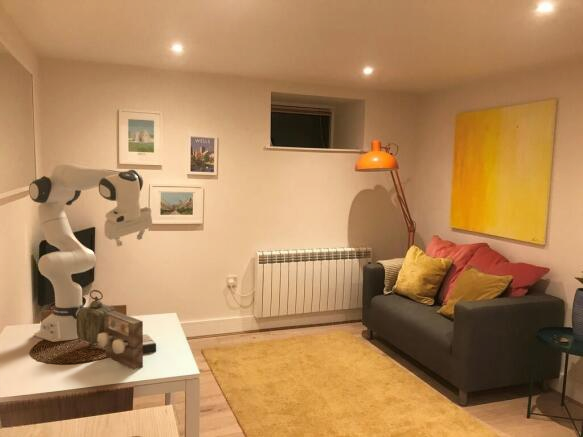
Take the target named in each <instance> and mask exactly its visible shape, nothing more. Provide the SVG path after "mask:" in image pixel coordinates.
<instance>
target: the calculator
mask: <svg viewBox="0 0 583 437" xmlns="http://www.w3.org/2000/svg"><path fill="white" fill-rule="evenodd" d="M156 352H157V343H156V342H155V341H154V340H153V338H152V337H151V336H150V335H149V334H148V333H146V334H144V333H143V355H145V354H150V353H156Z"/></svg>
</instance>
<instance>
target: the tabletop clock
mask: <svg viewBox="0 0 583 437" xmlns="http://www.w3.org/2000/svg"><path fill="white" fill-rule="evenodd" d="M93 292H96V293H99V294H100V295H101V296H100V298H99V297H98V296H94V297H93V296H92V293H93ZM89 296H90V298H91V299H93V301H91V302H90V304H89V305H88V306H85V307H84V308H81V309H80V310H79V311H78V313H77V323H76V325H77V335H78V338H77V339H79V340H81V341H85V342H88V343H89V344H90V345H92V346H90V350H91V349H94V350H95V349H96V348H95V344H98V341H97V336H98V334H100V333H104V332H105V313H107V312H111V311H116V308H115V307H114V306H111V305H107V304H103V302H102V301H101V300H102V299H103V296H104V295H103V293H102V292H101V291H100V290H98V289H93V290H91V291H90V292H89Z"/></svg>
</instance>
